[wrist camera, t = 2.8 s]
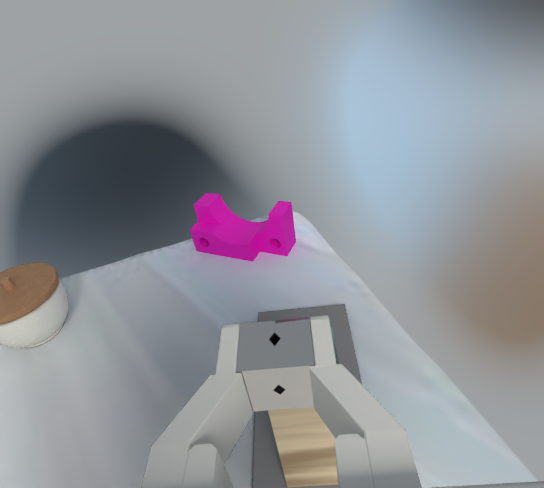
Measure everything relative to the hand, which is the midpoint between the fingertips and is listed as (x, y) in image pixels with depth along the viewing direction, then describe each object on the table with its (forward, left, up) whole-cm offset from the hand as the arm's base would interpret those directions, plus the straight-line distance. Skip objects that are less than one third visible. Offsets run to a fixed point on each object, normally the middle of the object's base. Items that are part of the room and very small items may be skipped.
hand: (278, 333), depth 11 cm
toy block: (-42, +10, -28) cm, 52 cm away
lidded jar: (-40, -21, -28) cm, 54 cm away
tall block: (-8, +4, -27) cm, 29 cm away
